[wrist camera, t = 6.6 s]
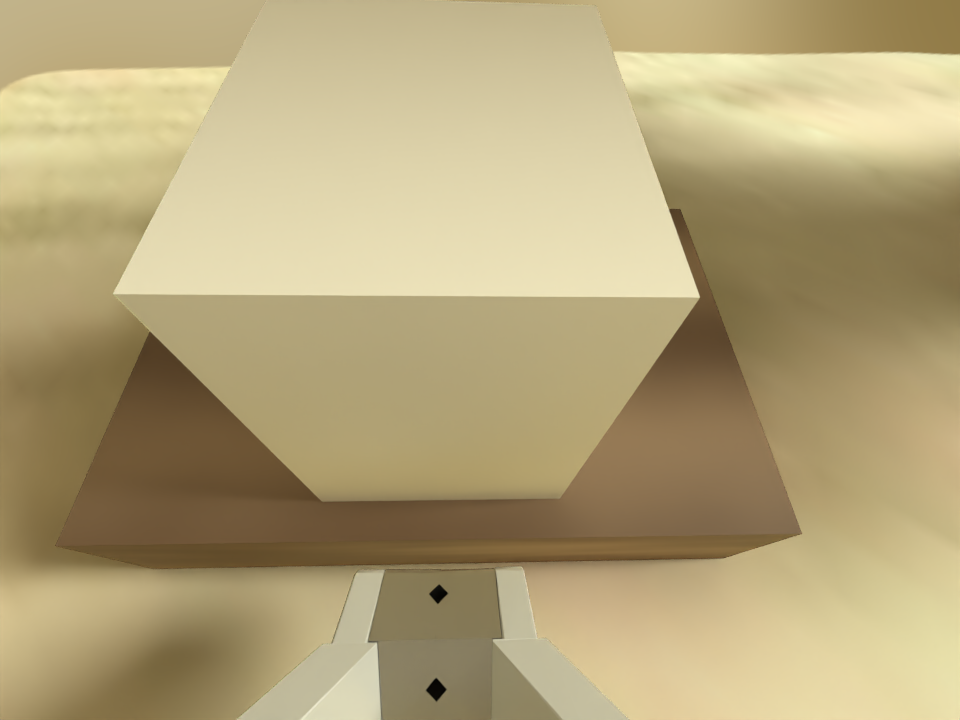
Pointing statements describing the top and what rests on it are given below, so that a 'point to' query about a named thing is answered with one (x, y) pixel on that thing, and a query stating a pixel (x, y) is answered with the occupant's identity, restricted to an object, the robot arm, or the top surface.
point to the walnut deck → (440, 523)
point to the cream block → (418, 247)
